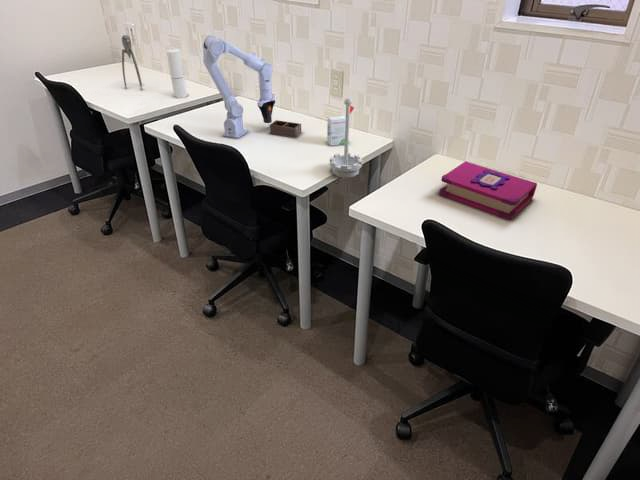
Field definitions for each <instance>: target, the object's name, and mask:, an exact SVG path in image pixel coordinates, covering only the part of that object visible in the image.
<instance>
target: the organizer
mask: <svg viewBox="0 0 640 480" xmlns="http://www.w3.org/2000/svg"><path fill="white" fill-rule="evenodd" d="M269 134H270V135H274V136H281V137H286V138H287V137H288V138H295V139H296V138H297V137H298V136H300V135H301V134H302V123H300V122H292V121H291V122H290V121H285V120H279V119H276V120H274V121H273V122H271V123H269Z"/></svg>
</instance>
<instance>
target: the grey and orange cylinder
mask: <svg viewBox="0 0 640 480" xmlns="http://www.w3.org/2000/svg"><path fill="white" fill-rule="evenodd" d="M272 117H273V116H272V115H271V106H269V109H268V118H267V119H265V118H263V117H262V120H263V123H265V124H272V123H273V122H272V121H273V120H272Z"/></svg>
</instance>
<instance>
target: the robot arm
mask: <svg viewBox="0 0 640 480" xmlns="http://www.w3.org/2000/svg"><path fill="white" fill-rule="evenodd" d="M202 50H203V51H202V53H203V54H202V55H203V56H202V58H203V59H202V61H203V64H204V66H205V68H206V71H207V72H208V73H209V76H210V77H211V80H212V81H213V82H214V84H215V87H216V88H217V90H218V92H219V94H220V96H221V97H222V101H223V102H224V108H225V110H226V111H227V112H226V119H225V120H224V122H223V128H224V134H223V137H228V138H233V139H239V138H241V137H242V136H243V135H245V134H246V133H248V130H246V129H245V128H244V118H243V114H244V107H243V105H242V104H240V103H239V102H238V99H236V97H235V96H234V93H233V92H232V90H231V88H230V87H229V85H228V83H227V81H226V79H225V77H224V75H223V73H222V72H221V70H220V68H219V66H218V64H217V63H218V61H219V58H220V57H221V56H222V54H231V55H233V56H235V57H236V58H238V59H240V60H242V62H243V64H244V65H245V66H246V67H248V68H250V69H251V70H253V71H255V72H257V73H258V84H259V99H258V101H257V102H256V103H257V107H258V108H259V110H260V113H261V116H262V119H263V118H265V119H267V118H268V109H269V106H271V116H272V115H273V111H274V110H273V109H274V106H275V104H276V100H275V99H276V94H275V93H273V85H272V84H273V83H272V74H273V72H274V68H273V66H272V65H271V64H270V63H268V62H267V61H266V60H265V59H264V58H260V57H259V56H257V55H256V53H254V52H248V53H247V52H245V51H243V50H241V49H239V48H238V47H236V46H234V45H233V44H231V43H230V42H228V41H226V40H223V39H221V38H217V37H216V36H214V35H208V36H206V37H205V38H204V41H203V43H202Z"/></svg>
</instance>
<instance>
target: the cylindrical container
mask: <svg viewBox="0 0 640 480" xmlns="http://www.w3.org/2000/svg"><path fill="white" fill-rule="evenodd" d="M166 56H167V61H168V67H169V68H168V69H169V73H170V79H171V84H172V91H173V96H174V98H177V99H180V98H186V97H187V96H188V94H187V87H186V80H185V74H184V68H183V62H182V55H181V50H180V49H167V50H166Z"/></svg>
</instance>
